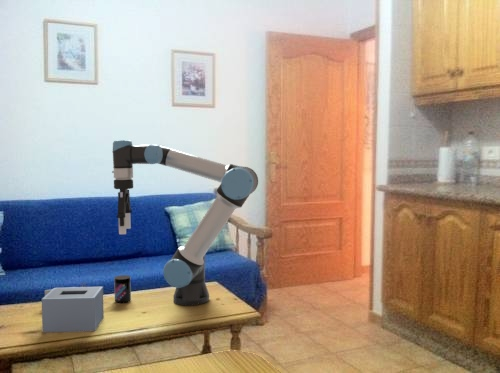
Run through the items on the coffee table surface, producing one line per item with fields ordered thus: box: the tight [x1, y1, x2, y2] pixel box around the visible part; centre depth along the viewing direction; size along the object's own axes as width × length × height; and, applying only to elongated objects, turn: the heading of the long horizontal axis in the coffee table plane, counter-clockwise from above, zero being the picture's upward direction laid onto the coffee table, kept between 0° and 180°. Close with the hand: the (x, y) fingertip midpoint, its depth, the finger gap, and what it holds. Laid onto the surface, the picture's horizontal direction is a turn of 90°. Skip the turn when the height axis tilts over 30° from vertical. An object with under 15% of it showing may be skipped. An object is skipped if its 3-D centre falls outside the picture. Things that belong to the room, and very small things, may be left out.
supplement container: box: [113, 274, 132, 304], centre depth 201 cm, size 7×7×10 cm
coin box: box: [41, 286, 105, 333], centre depth 173 cm, size 18×14×12 cm
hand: (125, 231), depth 191 cm, fingers open, 13 cm apart
